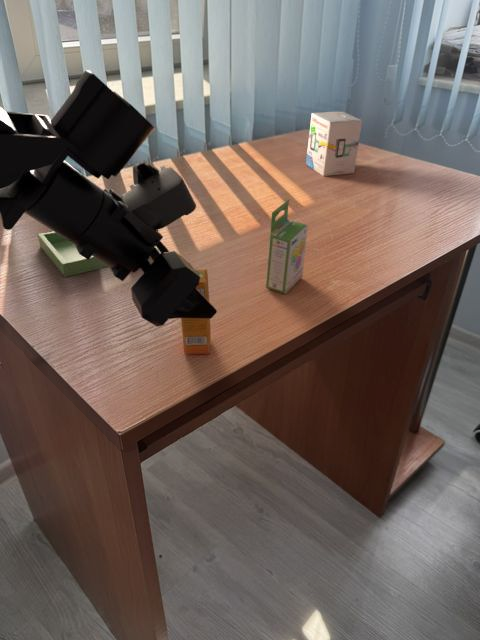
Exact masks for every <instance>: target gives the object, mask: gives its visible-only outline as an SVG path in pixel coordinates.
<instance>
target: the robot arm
mask: <svg viewBox="0 0 480 640" xmlns="http://www.w3.org/2000/svg"><path fill="white" fill-rule="evenodd" d="M155 128H156V126H154V125H153V124H152V123H151V122H150V121H149V120H148V119H147V118H146V117H145V116H144V115H143V114H142V113H141V112H139V110H137V109H136V108H135V107H134V106H133V105H132V103H130V102H128V101H127V100H126V99H125V98H123V97H122V96H121V95H120V94H119V93H117V91H115V90H114V91H113V90H112V89H111V88H110V87H109V86H108V85H107V84H105V83H104V82H103V81H102V80H101V79H100V78H99V77H98V76H97V75H96V74H95V73H93V72H92V71H91V70H89V69H87V70H86V69H85V70H84V72H83V73H82V74H81V75H80V77H79V78H78V80H77V81H76V83H75V86H74V89H73V90H72V92H71V93H70V94H69V96H68V97H67V98H66V100H65V101H64V103H63V104H62V105H61V106H60V108H59V109H58V110H57V112H56V113H55V114H54V115H53V117H52V119H51V118H50V117H49V116H48V115H47V114H42V113H41V114H40V113H29V112H19V111H18V112H16V111H7V110H6V111H5V109H3V108H2V107H1V106H0V220H1V224H2V227H3V229H4V230H6V231H11V230H12V229H13V228H14V227H15V225H16V224H17V223H18V221H20V219H21V218H22V216H23V215H24V214H25V215H26V216H29V217H30V218H32V219H33V220H35V221H37V222H38V223H40V224H41V225H43V226H44V227H46V228H47V229H49V230H51V231H54V232H56V233H57V234H59V235H60V236H62V237H64V238H65V239H67V240H68V241H70V242H71V243H73V244H74V245H75V246H76V248H77V250H78V252H79V254H80V255H81V256H83V257H85V258H86V259H88V260H89V258H90V257H91V256H93V257H95V258H96V259H98V260H100V261H101V262H103V263H104V264H106V265H107V266H109V268H110V271H111V272H112V274H113V276H114V277H115V278H117V279H118V280H120V281H121V282H124V281H125V279H126V278H127V277H128V276H129V275H130V274H131V273H133V274H135V273H136V272H138V271H139V270H141V271H142V272H143V273H142V274H141V276H140V277H139V278H138V279H137V280H136V282H135V283H134V284H133V285H132V287H130V291H131V299H132V302H133V304H134V306H135V307H136V309H137V311H138V313H139V315H140V317H141V318H142V319H143V320H145V321H147V322H148V323H150V324H152V325H153V326H155V327H162V326H164V325H165V324H166V322H168V321H169V320H170V319H171V320H172V319H181V318H208V319H210V320H211V319H212V318H213V317H214V316H215V315H216V314H217V313H218V311H217V309H216V308H215V306H213V304H212V303H211V302H210V300H209V301H208V300H207V299H206V298H205V297H204V296H203V295H202V294H201V293H200V292H199V290H198V289H197V288H196V287H197V286H198V285H199V281H200V276H199V275H198V273H197V272H196V271H195V268H194V267H193V265H192V264H191V263H190V262H188V261H187V260H186V258H185V257H183V256H182V255H180V254H179V253H178V252H176V251H175V250H169V249H168V248H167V247H166V245H165V244H164V243H163V242H162V239H163V238H164V236H163V235H162V233H161V232H160V231H159V230H161V229H164V228H166V227H167V226H169V225H170V224H172V223H174V222H175V221H177V220H179V219H180V218H182V217H184V216H189V215H190V214H192V213H193V212H194V211H195V210H196V208H197V204H196V202H195V200H194V197H193V196H192V194H191V192H190V190H189V188H188V186H187V184H186V182H185V181H184V179H183V177H182V176H181V175H180V174H179V173H178V172H177V171H176V170H175V169H174V168H173V167H170V166H169V167H168V166H167V167H166V166H165V165H161V166H160V167H159V168H160V170H159V168H157V167H156V166H154V165H153V164H151V163H150V162H148V160H145V159H143V160H141V161H140V162H138V163H136V164H134V165H133V166H132V179H133V180H132V181H133V183H131V184H130V185H129V188H130V190H128V191H126V192H125V193H124V194H122V195H121V194H119V193H118V192H116V191H115V190H114V189H112V188H110V189H108V188H106V187H105V188H104V189H103V188H101V187H100V186H99V185H97V184H96V183H95V182H94V181H92V180H91V179H90V178H89V177H87V176H85V175H84V174H82V172H80V171H78V170H77V169H76V168H75V167H74V166H72V165H71V164H70V163H68V161H66V159H67V158H68V157H69V158H70V159H71V160H72V161H74V163H76V164H77V165H79V166H80V167H81V168H82V169H83V170H85V172H87V173H89V174H90V175H91V176H93V177H94V178H96V179H100V178H101V177H104V178H105V179H107V180H109V179H110V178H111V177H114V178H117V176H118V175H119V174H120V172H121V171H122V170H123V169H124V168H125V166H126V165H127V164H128V163H129V161H130V160H131V159H132V157H133V156H134V155H135V154H136V153H137V152H138V150H139V149H140V148H141V146H142V145H143V144H144V142H145V141H146V140H147V139H148V137H149V136H150V135H151V134H152V133H153V131H154V130H155Z"/></svg>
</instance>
